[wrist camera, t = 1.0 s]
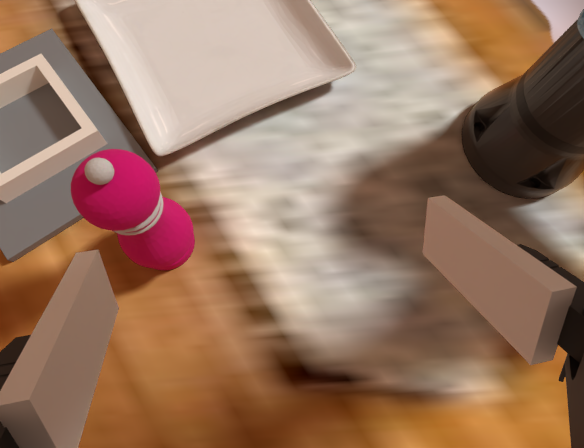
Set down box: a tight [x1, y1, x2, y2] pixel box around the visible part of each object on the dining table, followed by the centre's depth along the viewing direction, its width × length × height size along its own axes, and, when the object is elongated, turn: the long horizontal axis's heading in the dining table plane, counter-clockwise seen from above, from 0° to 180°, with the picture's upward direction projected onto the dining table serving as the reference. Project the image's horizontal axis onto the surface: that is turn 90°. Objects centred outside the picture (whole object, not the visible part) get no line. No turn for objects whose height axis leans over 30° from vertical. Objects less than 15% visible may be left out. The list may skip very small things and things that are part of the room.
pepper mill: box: [71, 149, 195, 270], centre depth 34 cm, size 7×7×20 cm
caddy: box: [0, 29, 158, 262], centre depth 45 cm, size 18×24×4 cm
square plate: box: [75, 0, 356, 156], centre depth 51 cm, size 27×27×4 cm
